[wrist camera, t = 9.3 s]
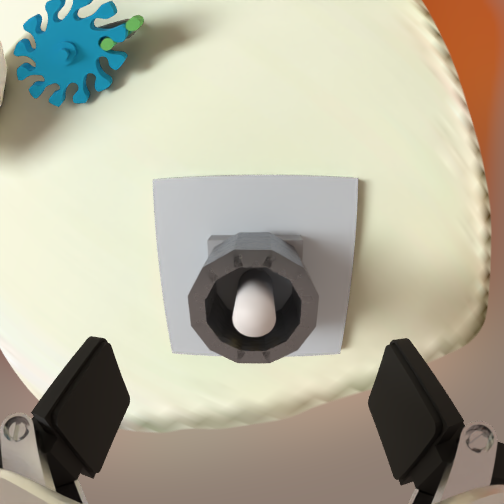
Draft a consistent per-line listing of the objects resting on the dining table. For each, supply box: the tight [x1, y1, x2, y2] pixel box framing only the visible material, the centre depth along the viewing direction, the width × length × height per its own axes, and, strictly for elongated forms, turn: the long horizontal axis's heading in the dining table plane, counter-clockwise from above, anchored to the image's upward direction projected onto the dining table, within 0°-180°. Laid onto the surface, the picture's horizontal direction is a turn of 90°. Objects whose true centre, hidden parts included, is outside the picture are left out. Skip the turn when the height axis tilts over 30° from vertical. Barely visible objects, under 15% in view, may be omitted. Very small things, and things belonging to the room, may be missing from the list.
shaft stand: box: [153, 175, 358, 357], centre depth 17 cm, size 14×14×7 cm
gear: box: [14, 0, 144, 107], centre depth 14 cm, size 11×6×10 cm
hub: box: [188, 232, 319, 363], centre depth 16 cm, size 7×7×4 cm
